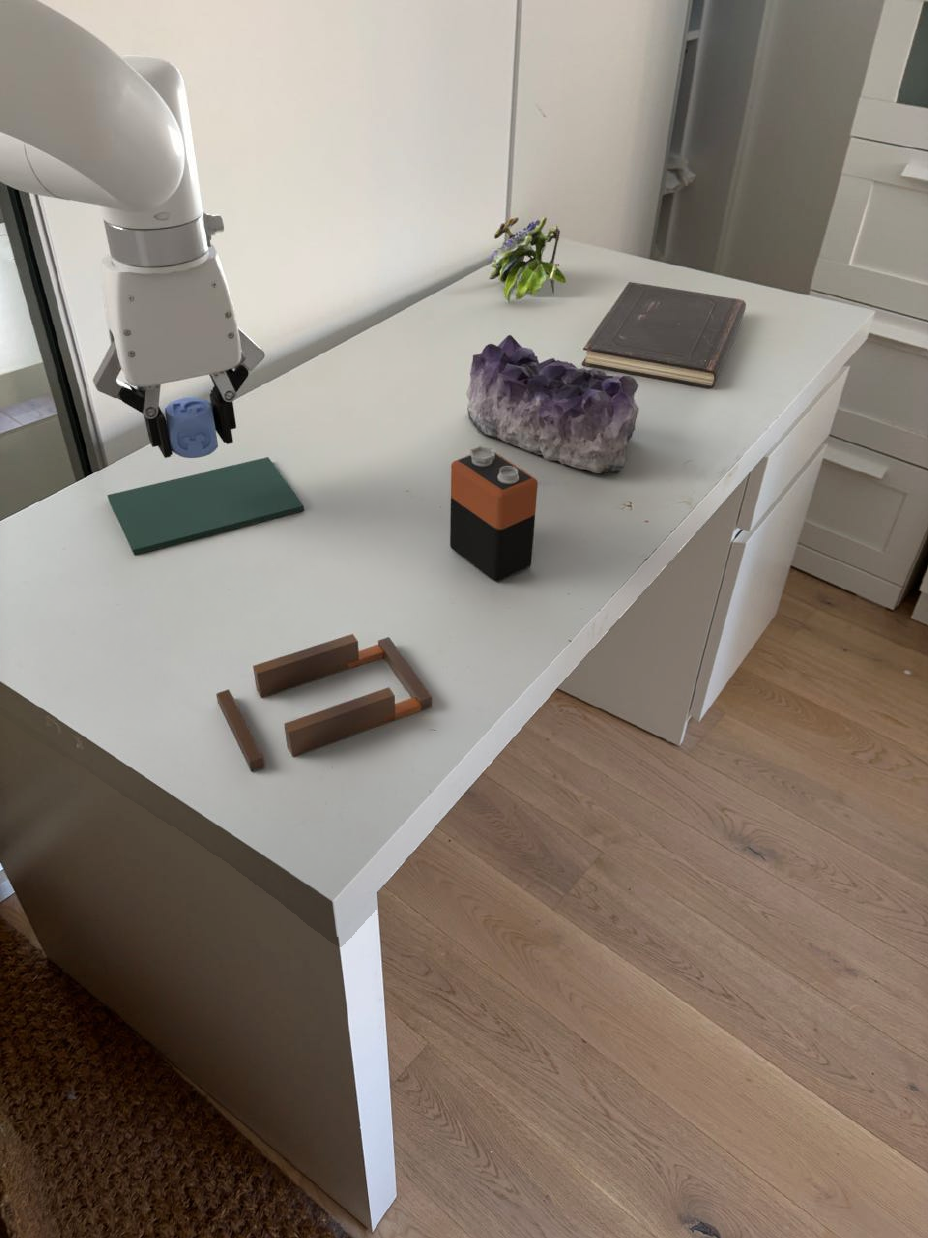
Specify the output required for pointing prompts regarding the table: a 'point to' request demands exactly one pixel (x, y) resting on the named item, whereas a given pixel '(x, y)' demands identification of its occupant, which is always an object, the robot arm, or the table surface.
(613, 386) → the geode
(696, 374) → the hardcover book
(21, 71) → the robot arm
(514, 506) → the battery
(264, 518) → the mat
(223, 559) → the table surface
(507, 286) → the passion flower
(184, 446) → the decorative dice
